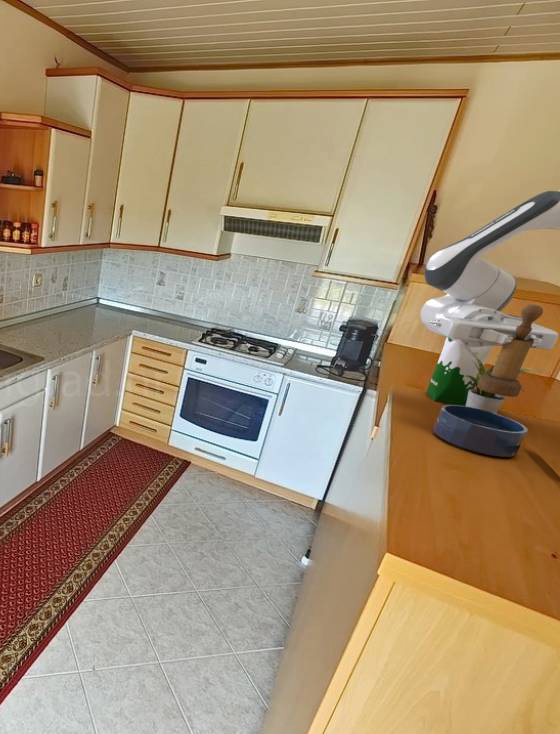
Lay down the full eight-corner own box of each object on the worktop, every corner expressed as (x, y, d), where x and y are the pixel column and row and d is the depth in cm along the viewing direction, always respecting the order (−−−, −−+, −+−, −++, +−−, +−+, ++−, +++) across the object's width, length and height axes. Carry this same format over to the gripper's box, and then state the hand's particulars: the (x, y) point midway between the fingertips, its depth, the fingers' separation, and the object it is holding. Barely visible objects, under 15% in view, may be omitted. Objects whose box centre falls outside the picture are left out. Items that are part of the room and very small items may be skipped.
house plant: (528, 438, 112) (561, 371, 106) (455, 421, 117) (482, 357, 112) (506, 417, 124) (534, 356, 118) (440, 403, 129) (464, 344, 124)
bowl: (503, 440, 109) (514, 416, 107) (525, 466, 97) (538, 439, 95) (426, 423, 115) (436, 399, 112) (438, 445, 103) (449, 419, 101)
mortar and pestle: (472, 383, 104) (507, 299, 98) (510, 390, 102) (549, 305, 96) (482, 392, 99) (520, 304, 92) (522, 400, 96) (565, 310, 90)
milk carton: (421, 391, 138) (447, 322, 131) (458, 398, 135) (488, 328, 129) (431, 401, 130) (460, 329, 123) (472, 409, 128) (504, 335, 121)
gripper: (430, 306, 109) (471, 319, 96) (531, 318, 106) (586, 333, 94) (420, 334, 111) (459, 350, 98) (518, 345, 109) (571, 364, 96)
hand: (522, 342), depth 96 cm, fingers closed on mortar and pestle, 4 cm apart
